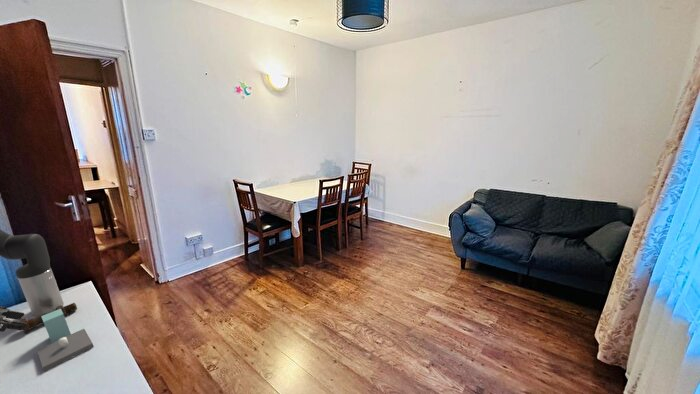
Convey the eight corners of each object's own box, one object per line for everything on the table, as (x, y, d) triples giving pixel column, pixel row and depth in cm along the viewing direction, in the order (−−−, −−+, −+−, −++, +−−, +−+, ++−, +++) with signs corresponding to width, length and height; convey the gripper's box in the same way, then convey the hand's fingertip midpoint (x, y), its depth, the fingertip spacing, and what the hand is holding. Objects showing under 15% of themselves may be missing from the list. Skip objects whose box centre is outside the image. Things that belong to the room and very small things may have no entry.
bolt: (78, 314, 117) (25, 336, 105) (74, 305, 119) (21, 326, 107) (78, 306, 115) (23, 327, 102) (73, 297, 116) (18, 317, 104)
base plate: (38, 353, 95) (34, 342, 94) (85, 331, 105) (81, 321, 103) (44, 371, 88) (39, 359, 87) (93, 346, 98) (89, 335, 96)
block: (49, 337, 103) (41, 316, 100) (68, 328, 106) (60, 308, 104) (51, 343, 100) (43, 321, 97) (71, 334, 103) (63, 313, 101)
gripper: (-37, 307, 80) (35, 318, 92) (-37, 290, 89) (30, 302, 101) (-61, 334, 78) (16, 342, 90) (-58, 314, 86) (12, 323, 98)
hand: (23, 321), depth 95 cm, fingers open, 8 cm apart
